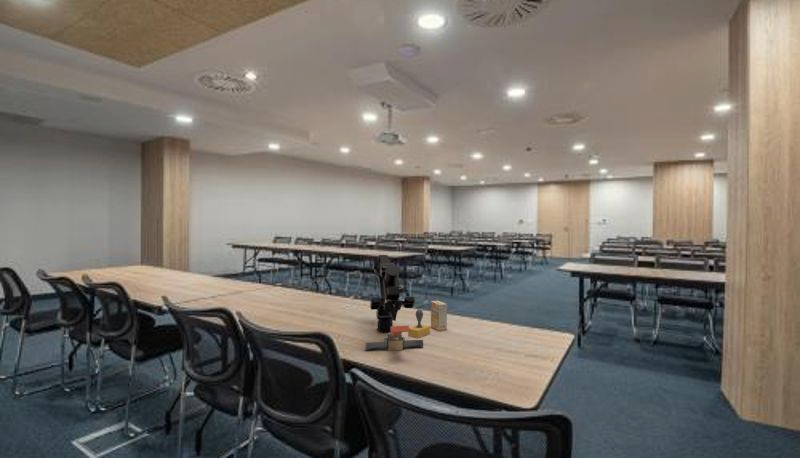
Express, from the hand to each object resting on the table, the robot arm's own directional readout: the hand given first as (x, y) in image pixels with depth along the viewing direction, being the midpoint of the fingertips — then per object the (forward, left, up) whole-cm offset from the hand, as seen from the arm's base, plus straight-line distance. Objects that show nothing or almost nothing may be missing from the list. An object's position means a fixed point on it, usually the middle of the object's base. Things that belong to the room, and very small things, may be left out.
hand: (394, 320), depth 161 cm
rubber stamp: (-20, -10, -12) cm, 25 cm away
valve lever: (0, 0, -6) cm, 6 cm away
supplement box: (-34, -13, -12) cm, 38 cm away
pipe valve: (0, 0, -12) cm, 12 cm away
